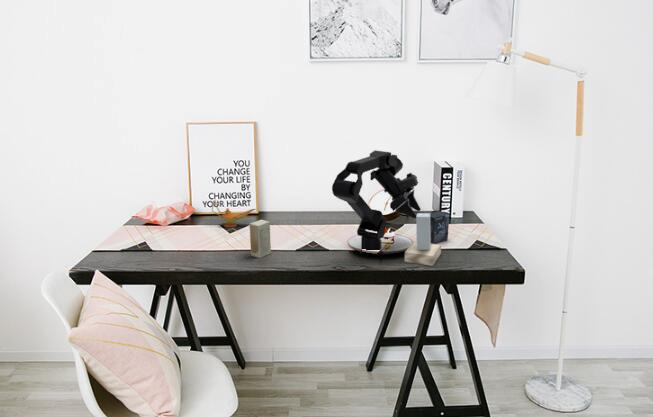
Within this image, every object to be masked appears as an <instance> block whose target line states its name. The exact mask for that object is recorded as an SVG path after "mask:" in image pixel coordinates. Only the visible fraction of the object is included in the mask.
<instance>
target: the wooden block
mask: <svg viewBox="0 0 653 417" xmlns="http://www.w3.org/2000/svg"><path fill="white" fill-rule="evenodd" d="M441 251H442V244H438V243H437V244H436V243H434V244H432V243H431V247H430V250H417V241H413V242H412V243H411V244H410V246H409V247H408V248H406V250H405V251H404V262H405V263H411V264H418V265H419V264H420V265H424V266H425V265H426V266H432V267H433V266H434V265H435V263H436V262H437V260H438V259H439V258H440V256H441V255H442V254H441Z"/></svg>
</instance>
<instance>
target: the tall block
mask: <svg viewBox="0 0 653 417" xmlns="http://www.w3.org/2000/svg"><path fill="white" fill-rule="evenodd" d="M430 213H431V212H429V213H426V212H424V213H421V212H420V213H419V212H418V213H417V214H416V218H415V219H416V222H415V223H416V224H415V225H416V242H417V250H430V247H431V244H432V243H431V236H430Z"/></svg>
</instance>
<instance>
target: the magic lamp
mask: <svg viewBox="0 0 653 417" xmlns="http://www.w3.org/2000/svg"><path fill="white" fill-rule="evenodd" d="M212 203H213V204H214V205H213V206H212V207H211V212H212V213H214V214H215V215H218V216H219V217H221V218H220V219H219V218H218V219H217V220H218V221H220V220H222V221H224V222H226V224H224V227H225V228H234V227H237V223H234V222H236V221H239V220H241V219H243V218H245V217H246V216H248V215H249V214H250V213H252V212H254V211H256V210H257V208H256V209H255V208H252V209H248V210H246V211H244V212H238V213H237V212H232V211H231V210H230V208H228V207H227V208H226V210H225V211H224V210H223V211H221V210H220V209H219V206H218V202H217V200H215V199H213V202H212ZM214 207H216V209H217V211H218V213H217V212H216V211H214V210H213V209H214ZM219 213H220V214H219ZM221 214H222V215H221Z"/></svg>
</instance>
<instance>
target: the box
mask: <svg viewBox="0 0 653 417" xmlns="http://www.w3.org/2000/svg"><path fill="white" fill-rule="evenodd" d="M429 213H430V236H431V244H436V243H437V244H438V243H441V242H445V241H448V240H449V225H450V214H449V213H446V212H443V211H442V210H439V211H433V212H429Z"/></svg>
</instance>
